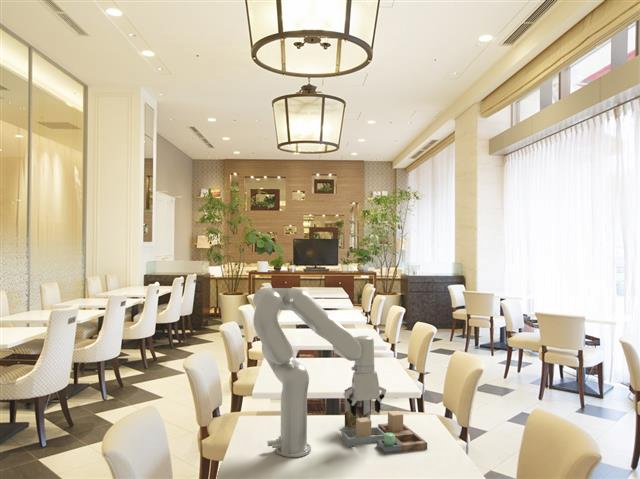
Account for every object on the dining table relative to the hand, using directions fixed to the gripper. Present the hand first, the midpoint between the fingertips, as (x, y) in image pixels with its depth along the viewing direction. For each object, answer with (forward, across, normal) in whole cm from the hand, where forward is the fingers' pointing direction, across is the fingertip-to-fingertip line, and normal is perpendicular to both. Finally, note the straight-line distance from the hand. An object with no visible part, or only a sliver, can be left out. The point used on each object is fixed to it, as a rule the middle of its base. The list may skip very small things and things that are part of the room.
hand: (365, 413), depth 187 cm
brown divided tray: (+11, +13, -4) cm, 17 cm away
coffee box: (+11, +1, +12) cm, 16 cm away
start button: (+10, +4, -12) cm, 16 cm away
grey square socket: (+10, +4, -12) cm, 16 cm away
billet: (+10, -1, 0) cm, 10 cm away
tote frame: (+10, -1, 0) cm, 10 cm away
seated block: (+10, +13, +1) cm, 16 cm away
